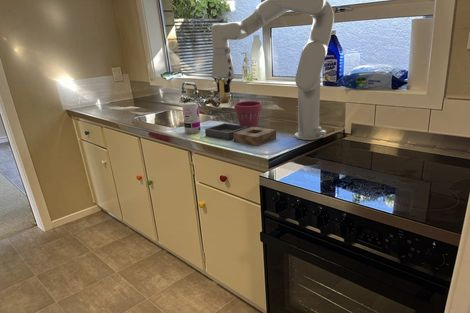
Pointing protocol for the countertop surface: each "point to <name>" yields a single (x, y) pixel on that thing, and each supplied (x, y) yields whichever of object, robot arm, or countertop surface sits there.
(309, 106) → the robot arm
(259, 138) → the wooden block with hole
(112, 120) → the countertop surface
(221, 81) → the brass pin
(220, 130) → the black tray
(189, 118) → the supplement can
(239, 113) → the plant pot
